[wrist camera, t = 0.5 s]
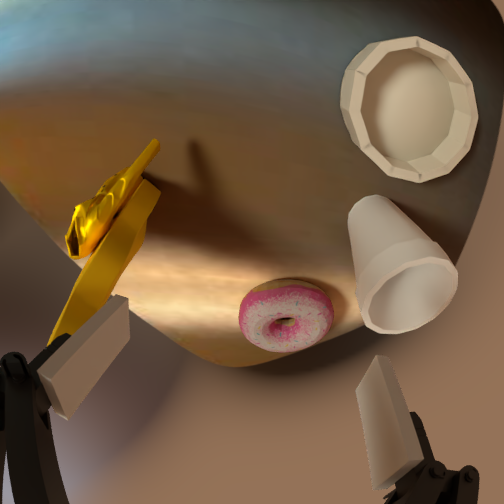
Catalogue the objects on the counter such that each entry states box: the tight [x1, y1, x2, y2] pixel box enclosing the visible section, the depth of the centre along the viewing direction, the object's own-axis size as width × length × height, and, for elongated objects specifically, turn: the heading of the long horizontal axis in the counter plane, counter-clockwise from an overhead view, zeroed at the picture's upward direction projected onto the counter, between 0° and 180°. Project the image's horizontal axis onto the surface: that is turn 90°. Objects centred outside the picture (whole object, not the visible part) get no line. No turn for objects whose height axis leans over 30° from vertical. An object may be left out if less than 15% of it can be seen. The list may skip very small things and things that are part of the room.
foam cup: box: [348, 195, 458, 334], centre depth 26 cm, size 10×9×13 cm
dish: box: [340, 36, 478, 183], centre depth 21 cm, size 14×14×4 cm
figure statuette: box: [47, 139, 161, 346], centre depth 22 cm, size 18×8×22 cm, turn 132°
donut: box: [239, 279, 334, 352], centre depth 39 cm, size 14×13×5 cm
